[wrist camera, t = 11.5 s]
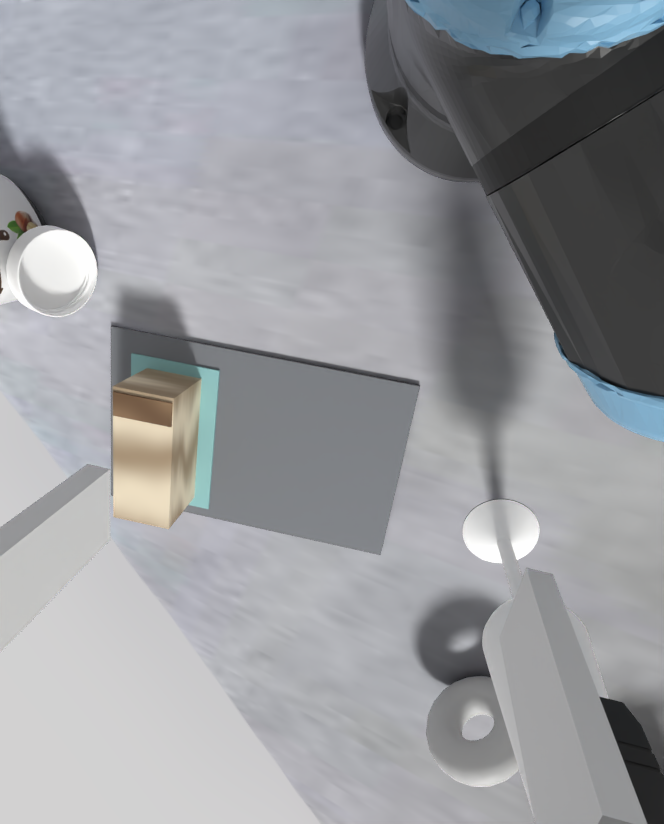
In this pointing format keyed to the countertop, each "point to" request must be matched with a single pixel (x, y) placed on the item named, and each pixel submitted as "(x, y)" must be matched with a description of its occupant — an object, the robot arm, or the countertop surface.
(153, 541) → the countertop surface
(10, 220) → the spread jar
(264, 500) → the rubber mat
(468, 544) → the champagne flute
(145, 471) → the birch block
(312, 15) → the countertop surface
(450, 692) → the donut
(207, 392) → the pad
